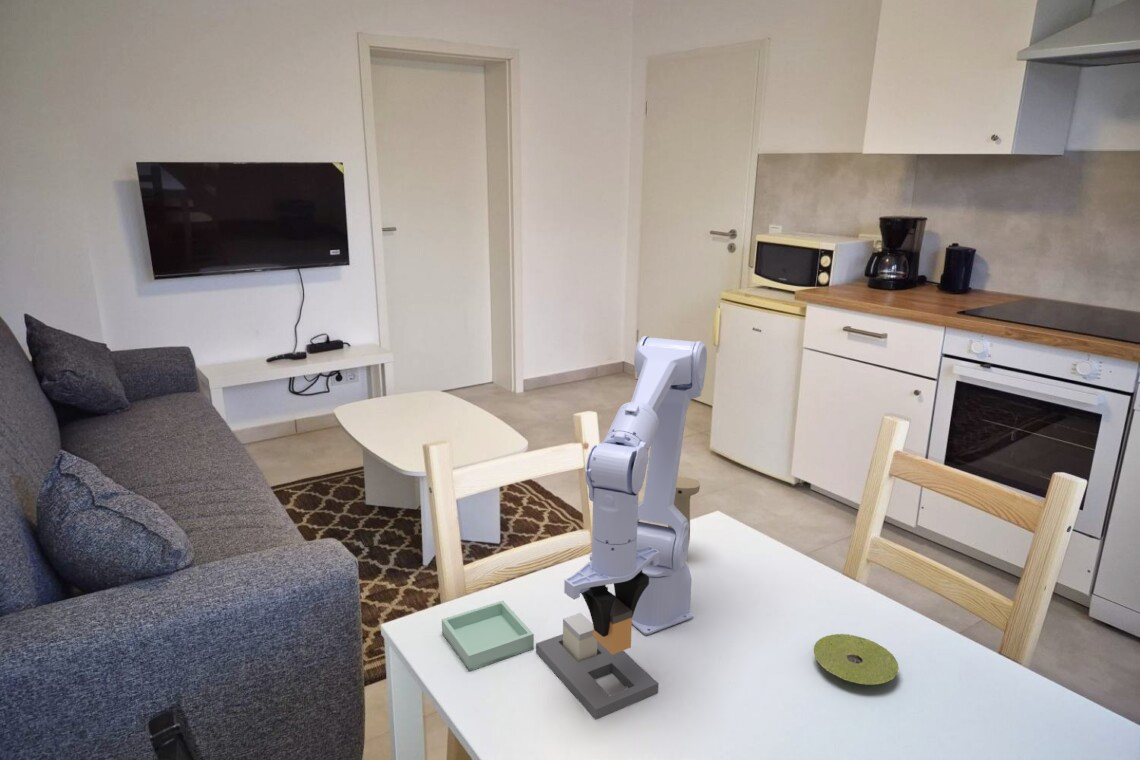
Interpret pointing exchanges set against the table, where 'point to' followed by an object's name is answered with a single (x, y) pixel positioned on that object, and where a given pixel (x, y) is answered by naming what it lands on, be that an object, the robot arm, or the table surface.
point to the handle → (685, 496)
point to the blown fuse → (617, 629)
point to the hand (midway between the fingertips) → (612, 627)
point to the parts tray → (487, 635)
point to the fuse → (579, 637)
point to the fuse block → (584, 672)
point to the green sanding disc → (855, 659)
